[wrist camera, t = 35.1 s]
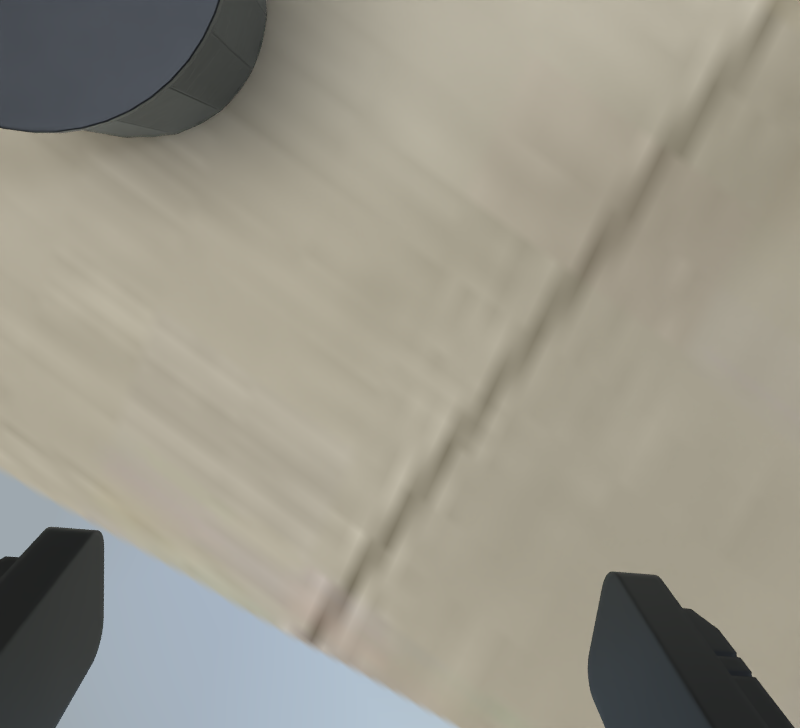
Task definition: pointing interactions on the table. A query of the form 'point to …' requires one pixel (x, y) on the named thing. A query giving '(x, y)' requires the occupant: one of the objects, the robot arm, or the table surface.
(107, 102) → the lid
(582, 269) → the table surface
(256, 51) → the pot
